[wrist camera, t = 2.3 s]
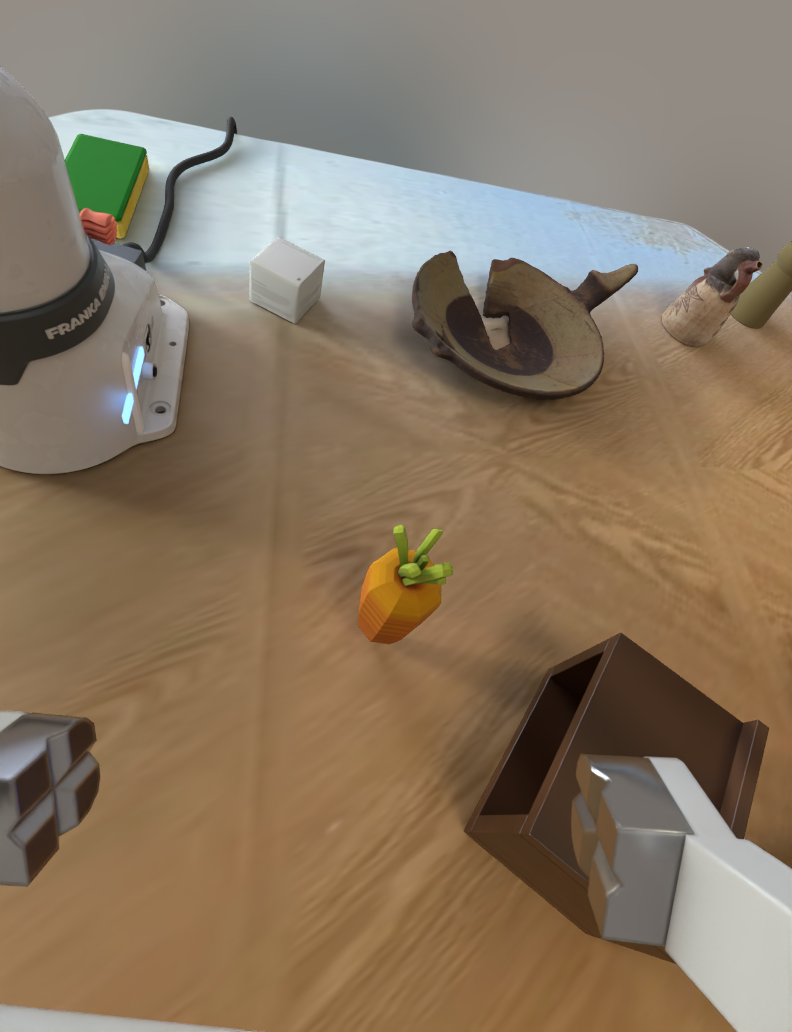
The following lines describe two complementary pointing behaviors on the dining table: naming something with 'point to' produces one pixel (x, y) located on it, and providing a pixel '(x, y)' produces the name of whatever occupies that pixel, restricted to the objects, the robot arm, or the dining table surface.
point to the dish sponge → (107, 177)
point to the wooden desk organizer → (606, 731)
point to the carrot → (401, 589)
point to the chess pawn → (766, 291)
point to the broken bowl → (516, 325)
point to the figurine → (711, 298)
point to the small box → (286, 279)
